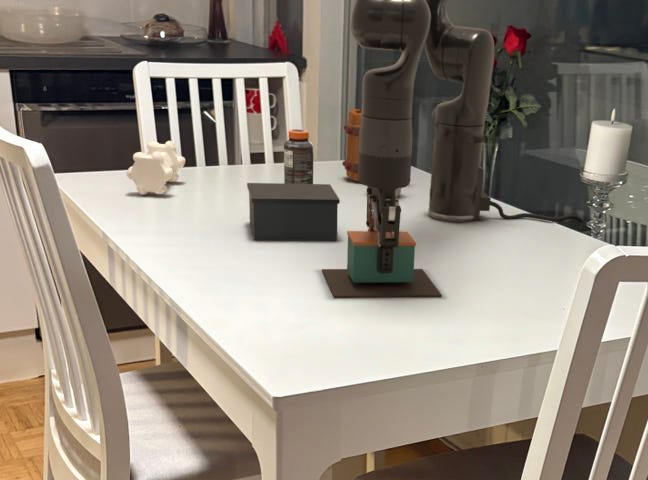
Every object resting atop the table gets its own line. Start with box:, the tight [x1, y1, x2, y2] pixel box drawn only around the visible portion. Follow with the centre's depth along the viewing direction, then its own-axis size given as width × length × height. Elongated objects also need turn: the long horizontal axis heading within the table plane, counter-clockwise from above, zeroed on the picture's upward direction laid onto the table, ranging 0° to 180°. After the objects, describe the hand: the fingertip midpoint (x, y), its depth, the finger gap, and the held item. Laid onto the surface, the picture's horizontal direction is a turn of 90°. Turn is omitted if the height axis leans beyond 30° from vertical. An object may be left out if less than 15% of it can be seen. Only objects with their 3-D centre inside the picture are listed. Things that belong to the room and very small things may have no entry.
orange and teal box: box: [346, 230, 417, 283], centre depth 145 cm, size 9×6×6 cm
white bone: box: [126, 140, 186, 196], centre depth 190 cm, size 15×9×8 cm, turn 2°
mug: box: [342, 108, 362, 183], centre depth 207 cm, size 15×8×15 cm, turn 72°
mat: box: [321, 268, 443, 299], centre depth 147 cm, size 16×13×1 cm
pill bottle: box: [283, 128, 314, 184], centre depth 198 cm, size 6×6×11 cm
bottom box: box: [246, 182, 341, 241], centre depth 168 cm, size 15×12×7 cm
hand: (380, 265), depth 145 cm, fingers closed on orange and teal box, 6 cm apart
